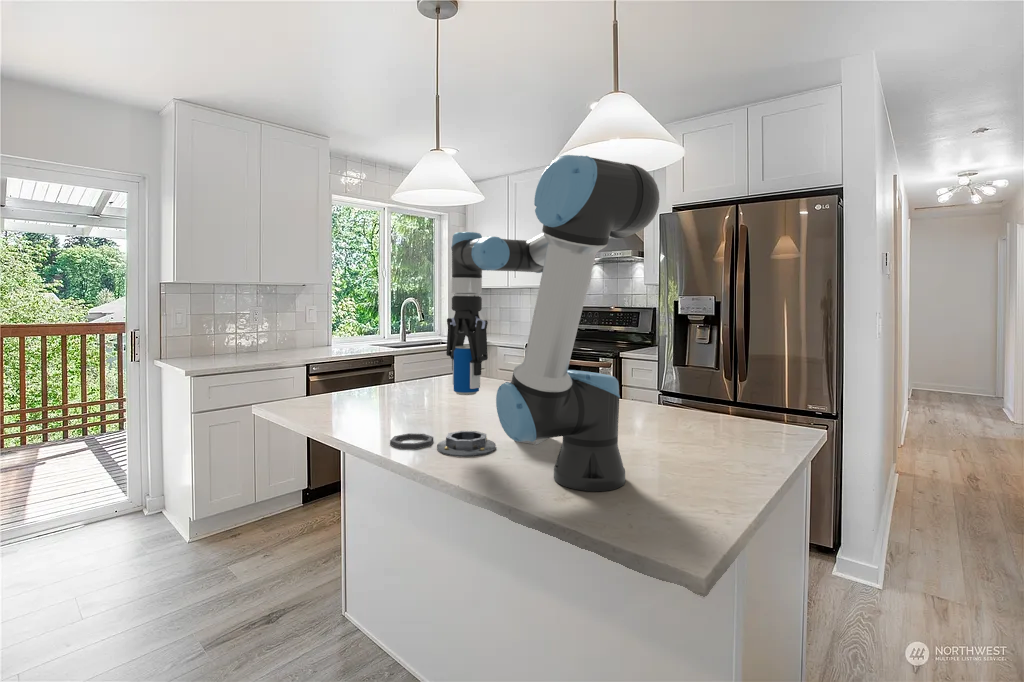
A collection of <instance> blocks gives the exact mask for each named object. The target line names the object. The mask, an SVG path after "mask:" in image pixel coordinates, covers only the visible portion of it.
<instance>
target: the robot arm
mask: <svg viewBox="0 0 1024 682" xmlns="http://www.w3.org/2000/svg"><path fill="white" fill-rule="evenodd" d="M533 202H534V203H533V204H534V206H535V209H534V213H535V215H536V219H538V221H539V223H541V224H542V231H541V233H540V234H538V235H536V236H534V237H532V238H530V239H529V240H528V239H527V240H523V239H522V240H521V239H509V238H508V239H506V238H501V237H498V236H488V235H487V236H482V234H481V233H479V232H476V231H475V232H474V231H462V232H461V231H458V232H454V234H453V235H452V240H451V241H452V242H451V246H450V247H451V249H450V250H451V294H453V295H452V297H451V310H452V311H454V316H453V317H447V319H446V324H447V325H446V326H447V337H446V353H445V354H446V356H447V357H450V359H451V371H452V385H453V386H454V350H455V349H456V346H465V345H464V344H465V340H466V337H467V339H468V346H470V351H471V356H472V361H470V389H475V388H479V389H481V375H482V362H484V361H488V360H489V359H488V336H487V334H488V333H487V332H488V331H487V329H488V320H487V319H484V320H483V319H481V318H480V314H479V312H481V311H482V309H483V308H482V306H483V305H482V304H483V303H482V302H483V301H482V300H483V297H481V296H480V295H481V294H482V293H483V292H482V284H483V283H482V282H483V281H482V280H483V279H482V278H483V271H487V272H488V271H491V272H492V271H493V272H494V271H495V272H496V271H497V272H525V273H536V274H540V273H541V277H540V281H539V287H538V291H537V295H536V296H537V297H536V300H535V301H536V302H535V306H534V311H533V316H532V321H531V325H530V329H529V330H530V331H529V334H528V340H527V345H526V347H527V348H526V347H525V348H526V350H525V354H524V358H523V362H521V363H519V364H518V365H516V366H515V367H514V369H513V373H512V376H511V381H510V382H509V381H505V382H504V383H502V384H501V385H499V387H498V388H497V390H496V395H495V396H496V397H495V405H496V407H495V408H496V411H497V417H498V420H499V422H500V426H501V428H502V429H503V431H504V433H505V434H506V435H507V436H508V437H509V438H510V439H511V440H513V441H514V440H515V441H514V442H516V441H519V442H518V443H521V442H520V441H535V440H539V439H546V438H548V439H552V438H559V437H562V441H561V442H562V444H561V446H560V449H559V452H558V455H557V458H556V462H555V463H554V467H553V479H554V481H555V482H556V483H557V484H559V485H561V486H563V487H566V488H568V489H572V490H578V491H583V492H584V491H585V492H604V491H605V492H606V491H613V490H616V489H619V488H622V487H623V486H624V485H625V483H626V470H625V467H624V463H623V460H622V455H621V453H620V449H619V418H620V417H619V413H620V412H619V411H620V410H619V409H620V398H621V396H620V385H619V384H620V383H619V380H618V379H617V378H616V376H613V375H610V374H605V373H599V372H591V371H584V370H576V369H569V367H570V361H571V357H572V353H573V349H574V345H575V341H576V337H577V332H578V329H579V325H580V322H581V321H580V320H581V317H582V313H583V309H584V304H585V300H586V298H587V292H588V289H589V288H588V287H589V284H590V280H591V277H592V276H591V275H592V271H593V267H594V265H595V264H594V263H595V259H596V256H597V255H596V254H597V253H598V252H599V251H601V250H603V249H604V248H606V247H607V246H608V245H609V244H608V243H609V240H610V239H615V240H622V239H624V238H627V237H629V236H632V235H634V234H637V233H639V232H640V231H642V230H644V229H645V228H646V227H647V226H649V224H650V223H651V222H652V221H653V220H654V219H655V217H656V215H657V213H658V210H659V207H660V191H659V187H658V184H657V183H656V181H655V179H654V178H653V176H652V175H651V174H650V173H649V172H648V171H647V170H645V169H644V168H642V167H641V166H638V165H635V164H630V163H623V162H618V161H611V160H609V159H608V160H607V159H602V158H597V157H590V156H589V155H573V154H566V155H561V156H559V157H556V158H555V159H554V160H552V161H551V163H550V164H548V165H547V166H546V168H545V169H544V171H543V173H541V175H540V178H539V180H538V182H537V185H536V189H535V193H534V201H533ZM476 356H477V357H476ZM546 440H547V439H546Z"/></svg>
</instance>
